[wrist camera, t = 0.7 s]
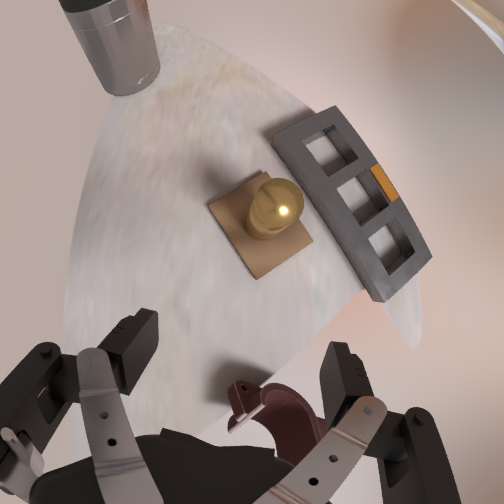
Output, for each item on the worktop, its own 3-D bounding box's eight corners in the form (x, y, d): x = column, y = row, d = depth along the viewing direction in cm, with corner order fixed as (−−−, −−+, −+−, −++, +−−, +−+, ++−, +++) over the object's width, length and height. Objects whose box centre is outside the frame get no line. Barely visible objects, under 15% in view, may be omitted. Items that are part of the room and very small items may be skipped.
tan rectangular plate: (208, 207, 33) (208, 205, 32) (264, 173, 34) (266, 171, 34) (256, 279, 33) (257, 279, 32) (310, 242, 34) (313, 241, 33)
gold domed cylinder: (237, 218, 33) (245, 193, 23) (266, 200, 33) (285, 169, 23) (257, 247, 33) (273, 235, 23) (285, 228, 33) (313, 209, 23)
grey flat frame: (270, 144, 35) (275, 132, 32) (327, 115, 36) (336, 104, 33) (372, 301, 35) (386, 303, 31) (419, 258, 36) (433, 256, 33)
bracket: (246, 364, 30) (253, 439, 20) (347, 405, 34) (370, 461, 25) (216, 394, 31) (216, 464, 22) (317, 428, 36) (333, 483, 26)
